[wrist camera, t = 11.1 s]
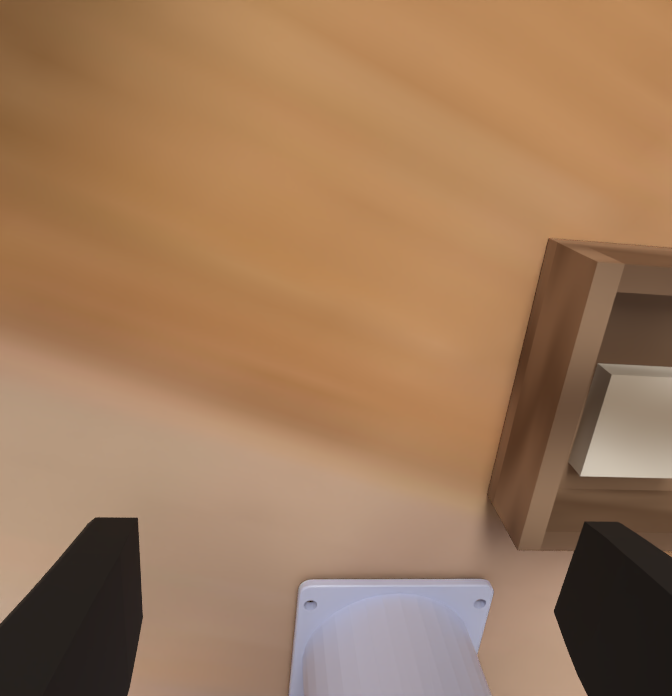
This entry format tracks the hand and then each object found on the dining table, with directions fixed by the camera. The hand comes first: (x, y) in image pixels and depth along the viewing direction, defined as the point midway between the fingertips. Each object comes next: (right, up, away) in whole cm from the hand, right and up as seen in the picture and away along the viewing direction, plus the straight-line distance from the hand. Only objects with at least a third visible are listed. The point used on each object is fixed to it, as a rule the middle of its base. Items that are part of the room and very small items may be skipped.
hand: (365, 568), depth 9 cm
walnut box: (+11, +2, +12) cm, 16 cm away
